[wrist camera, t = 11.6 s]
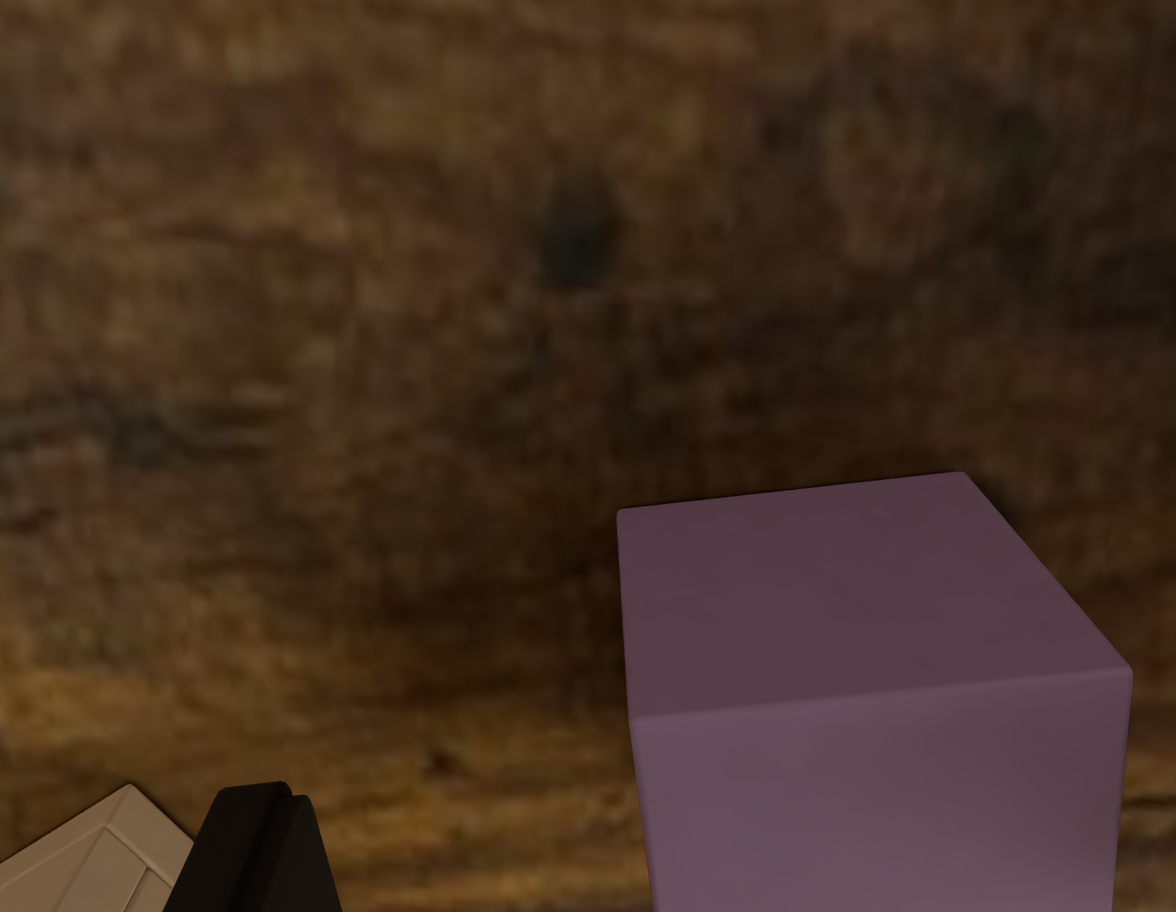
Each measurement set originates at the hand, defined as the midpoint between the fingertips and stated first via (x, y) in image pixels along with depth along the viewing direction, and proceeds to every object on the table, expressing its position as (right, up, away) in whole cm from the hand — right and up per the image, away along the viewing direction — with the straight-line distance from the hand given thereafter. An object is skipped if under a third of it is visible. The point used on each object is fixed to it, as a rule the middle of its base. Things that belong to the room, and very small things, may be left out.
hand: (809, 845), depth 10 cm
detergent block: (0, +1, +3) cm, 3 cm away
